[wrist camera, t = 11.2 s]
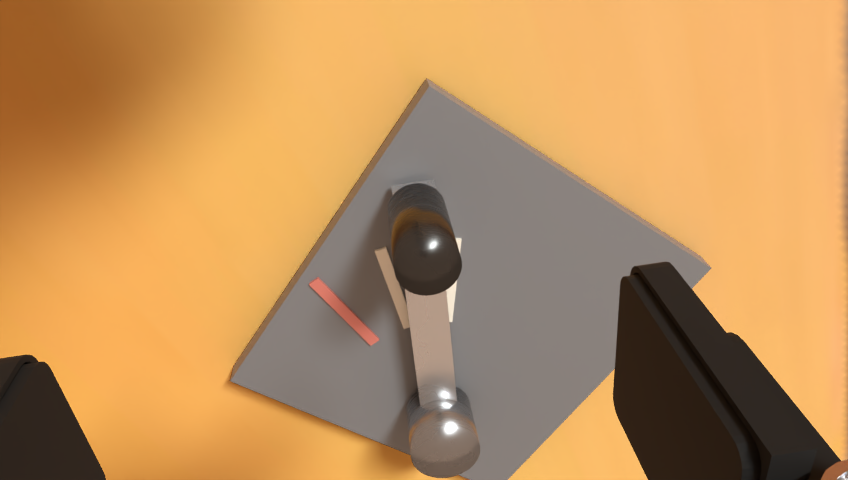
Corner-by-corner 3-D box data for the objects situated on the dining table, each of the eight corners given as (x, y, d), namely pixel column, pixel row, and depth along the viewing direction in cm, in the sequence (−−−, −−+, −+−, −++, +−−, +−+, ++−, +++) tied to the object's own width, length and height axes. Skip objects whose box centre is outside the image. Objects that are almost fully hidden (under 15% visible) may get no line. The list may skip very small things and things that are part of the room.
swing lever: (472, 427, 47) (492, 517, 40) (409, 436, 47) (419, 528, 40) (450, 167, 37) (472, 231, 31) (371, 177, 37) (377, 243, 31)
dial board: (426, 78, 37) (429, 87, 35) (700, 256, 44) (712, 269, 43) (233, 366, 45) (229, 383, 43) (493, 475, 52) (497, 492, 51)
